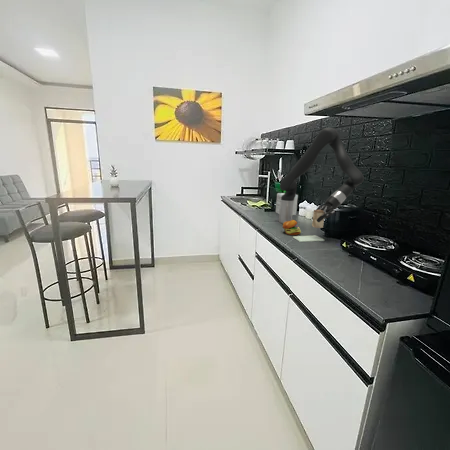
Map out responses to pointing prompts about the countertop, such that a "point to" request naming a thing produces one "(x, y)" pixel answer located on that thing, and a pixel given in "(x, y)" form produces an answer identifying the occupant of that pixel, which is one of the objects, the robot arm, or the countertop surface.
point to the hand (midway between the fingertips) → (315, 220)
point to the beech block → (315, 216)
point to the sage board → (308, 238)
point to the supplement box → (278, 203)
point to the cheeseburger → (291, 228)
